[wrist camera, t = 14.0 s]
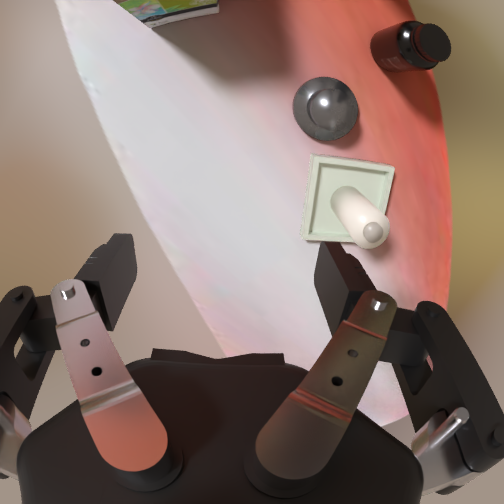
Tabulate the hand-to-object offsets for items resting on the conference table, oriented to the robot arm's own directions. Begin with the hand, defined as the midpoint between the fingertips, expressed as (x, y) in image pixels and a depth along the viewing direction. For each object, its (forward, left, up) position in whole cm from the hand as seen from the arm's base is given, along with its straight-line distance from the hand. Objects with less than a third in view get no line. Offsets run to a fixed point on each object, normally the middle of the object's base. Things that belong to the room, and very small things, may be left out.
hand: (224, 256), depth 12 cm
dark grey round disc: (-6, +12, -30) cm, 33 cm away
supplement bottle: (-17, +21, -30) cm, 41 cm away
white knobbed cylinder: (+7, +17, -29) cm, 35 cm away
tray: (+7, +17, -30) cm, 35 cm away
